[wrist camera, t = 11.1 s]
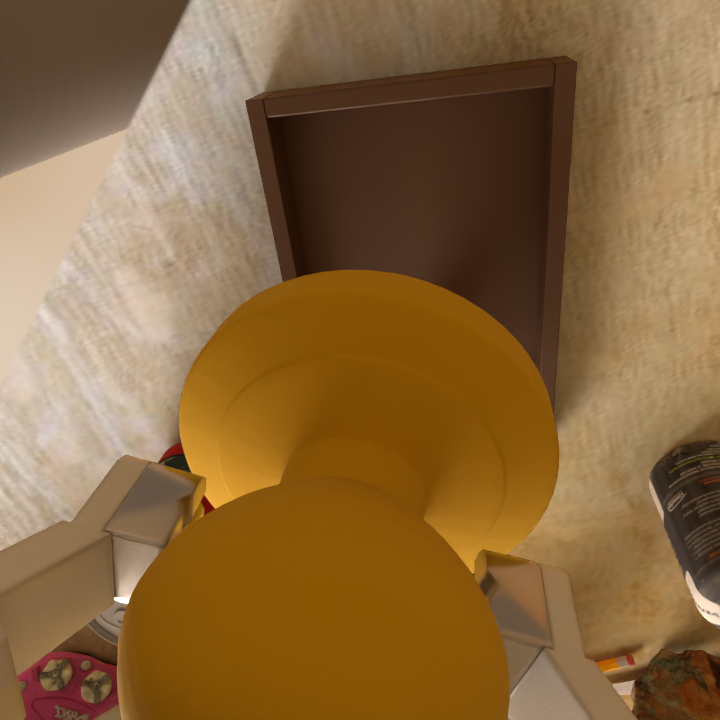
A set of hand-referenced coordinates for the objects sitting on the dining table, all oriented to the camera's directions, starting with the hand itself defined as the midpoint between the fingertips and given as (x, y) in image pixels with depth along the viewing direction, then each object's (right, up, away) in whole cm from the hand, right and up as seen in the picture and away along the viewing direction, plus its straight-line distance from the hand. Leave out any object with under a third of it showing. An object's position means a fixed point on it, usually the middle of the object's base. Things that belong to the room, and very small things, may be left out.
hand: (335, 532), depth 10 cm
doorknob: (-2, +3, -3) cm, 4 cm away
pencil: (+19, -22, +36) cm, 47 cm away
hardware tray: (+4, +7, +20) cm, 22 cm away
